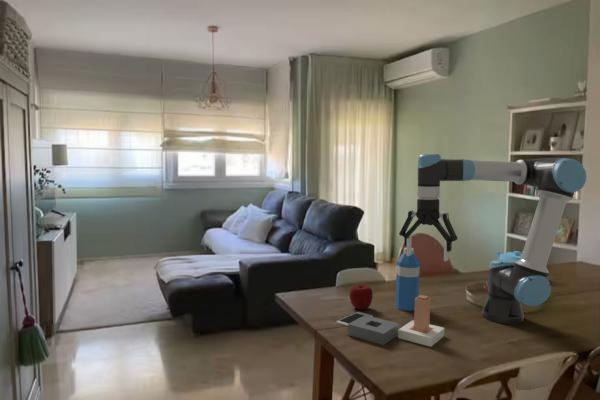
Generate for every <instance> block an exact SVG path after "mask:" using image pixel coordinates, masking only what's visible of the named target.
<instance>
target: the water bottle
mask: <svg viewBox="0 0 600 400" xmlns="http://www.w3.org/2000/svg"><path fill="white" fill-rule="evenodd" d="M406 250H407V247H403V252H402V254H401V255H400V256H399V258H398V259H397V260H396V278H395V279H396V280H395V282H396V283H395V299H394V301H395V305H394V306H395V307H396V308H397V309H399V310H403V311H415V298H417V297H418V296H419V295H420V293H419V291H420V272H421V271H420V267H421V261H420V260H419V259H418V258H417V256H416V254H415V249H414V247H411V255H410V256H406Z"/></svg>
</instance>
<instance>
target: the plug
mask: <svg viewBox="0 0 600 400" xmlns="http://www.w3.org/2000/svg"><path fill="white" fill-rule="evenodd" d="M413 313H414V314H413V315H414V317H413V320H414V331H418V332H422V333H426V334H427V333H428V332H429V324H430V319H431V317H430V315H431V297H429V295H428V296H427V295H423V294H419V296H418V297H417V298H415V310H414V312H413Z"/></svg>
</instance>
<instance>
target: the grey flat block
mask: <svg viewBox="0 0 600 400" xmlns="http://www.w3.org/2000/svg"><path fill="white" fill-rule="evenodd" d="M400 326H401V325H400V323H399V322H394V321H390V320H387V319H382V318H378V317H375V316H373V317H371V316H367V315H364V316H362V317H360V318H358V319H357V320H355V321H353V322H351V323H349V324H348V326H347V336H350V337H353V338H357V339H361V340H363V341H368V342H371V343H374V344H378V345H381V346H384V345H385V344H388V343H389V342H391V341H392V340H394V339H395V338H397V337H398V329H400Z"/></svg>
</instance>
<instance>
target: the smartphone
mask: <svg viewBox="0 0 600 400" xmlns="http://www.w3.org/2000/svg"><path fill="white" fill-rule="evenodd" d="M364 315H367V316H371V317H374V315H373V314H372V315H371V314H368V313H365V312H361V311H357V312H354V313H352V314H350V315H347V316H345V317H344V318H341V319H338V320H336V322H335V323H336V324H338V325H343V326H346V327H348V324H349V323H351V322H353V321H355V320H357V319H358V318H360V317H362V316H364Z"/></svg>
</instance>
